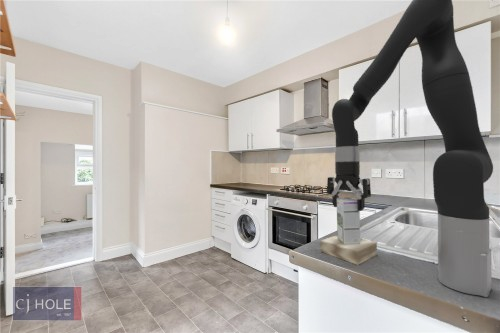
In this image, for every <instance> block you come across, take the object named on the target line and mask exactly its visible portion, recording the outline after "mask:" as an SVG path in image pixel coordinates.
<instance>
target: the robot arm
mask: <svg viewBox="0 0 500 333" xmlns="http://www.w3.org/2000/svg"><path fill="white" fill-rule="evenodd" d="M455 34H456V33H455V23H454V5H453V0H412V1H411V2H410V3H409V5H408V6H407V7H406V10H405V11H404V13H403V14H402V16H401V17H400V19H399V21H398V23H397V24H396V26H395V28H394V29H393V31H392V32H391V34H390V35H389V37H388V39H387V40H386V41H385V43H384V45H383V46H382V48H381V49H380V50H379V51H378V53H377V54H376V57H375V58H374V59H373V61H372V62H371V63H370V64H369V66H367V68H366V69H365V70H364V72H362V75H361V76H360V77H359V78H358V80H357V81H356V82H355V83H354V85H353V86H352V90H353V91H352V92H353V93H352V94H351V96H350V97H349V98H342V99H339V100H337V101H336V102H335V103H334V105H333V107H332V110H331V119H332V123H333V124H332V125H333V130H334V132H335V154H334V166H335V167H334V172H335V177H334V176H329V177H327V184H326V186H327V188H326V193H327V195H331V196H332V205H333V207H334V208H337V198H340V196H339V195H340V193H341V192H342V191H347V192H352V193H353V194H354V195H355V196H356V199H357V198H358V199H357V206H358V211H360V212H361V211H364V209H365V207H366V206H365V205H366V204H365V203H366V202H365V199H368V198H371V196H372V191H371V180H370V178H360V173H361V172H360V171H361V170H360V167H361V166H360V162H361V161H360V160H361V159H360V148H359V133H358V130H357V129H356V127H355V122H356V120H358V119H359V118H360V117H361V116H362V115H363V113H364V112H365V110H366V108H367V107H368V106H369V105H370V102H371V100H373V99H372V98H374V96H375V95H376V94H377V93H378V92H379V91H380V90H381V88H383V87H384V85H385V84H387V82H388V80H389V79H390V78H391V77H392V75H393V74H394V71H395V70H396V68H397V65H398V64H399V62H400V61H401V59H402V57H403V56H404V54H405V52H406V51H407V49H408V48H409V47H410V45H411V44H412V43H413V42H414V40H416V42H417V44H418V46H419V50H420V54H421V61H422V62H421V86H422V91H423V92H422V93H423V96H424V101H425V102H424V103H425V104H426V107H427V110H428V111H429V113H430V116H431V117H432V119H433V121H434V123H435V124H436V126H437V127H438V130H439V131H440V133H441V137H442V140H443V144H444V151H445V152H444V153H442V154H440V155H439V156H438V157H437V158H436V160H435V162H434V164H433V168H432V182H433V184H432V185H433V198H434V203H435V205H436V207H437V279H438V281H439V282H440V283H441V284H442V285H444V286H446V287H448V288H449V289H452V290H453V291H457V292H461V293H463V294H469V295H473V296H481V297H484V298H488V297H489V295H490V293H491V290H492V289H493V288H492V248H490V208H489V206H488V204H487V203H486V200H485V191H484V190H485V189H484V188H485V186H484V184H485V183H486V182H488V180H490V178H491V177H492V174H493V172H494V164H493V160H492V158H491V155H490V153H489V151H488V149H487V146H486V143H485V141H484V139H483V136H482V133H481V129H480V126H479V118H478V112H477V107H476V101H475V96H474V91H473V85H472V81H471V76H470V73H469V69H468V67H467V64H466V61H465V59H464V57H463V55H462V53H461V51H460V49H459V47H458V45H457V41H456V36H455ZM335 184H336V186H335ZM360 184H361V186H362V189H361V187H360Z"/></svg>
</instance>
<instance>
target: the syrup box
mask: <svg viewBox="0 0 500 333" xmlns="http://www.w3.org/2000/svg"><path fill="white" fill-rule="evenodd" d="M360 212H361V211H358V206H357V198H354V197H346V196H345V197H339V198H337V207H336V225H337V226H336V227H337V228H336V230H337V234H336V235H337V236H338V239H339V240H340V241H341V242H342V243H343V244H360V238H361V218H360V217H361V214H360Z"/></svg>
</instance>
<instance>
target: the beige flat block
mask: <svg viewBox="0 0 500 333" xmlns="http://www.w3.org/2000/svg"><path fill="white" fill-rule="evenodd" d="M377 246H378V243H377V242H376V241H373V240H369V239H368V240H367V239H365V238H361V237H360V244H343V243H342V242H341V241H340V240H339V239H338V236H337V234H334V235H332V236H330V237H326V238H324V239H321V240H320V252H321V253H323V254H326V255H329V256H331V257H334V258H337V259H340V260H343V261H346V262H348V263H351V264H354V265H357V266H359V265H361V264H362V263H365V262H366V261H368V260H370V259H372V258H374V257H375V256H377V255H378V248H377Z"/></svg>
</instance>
